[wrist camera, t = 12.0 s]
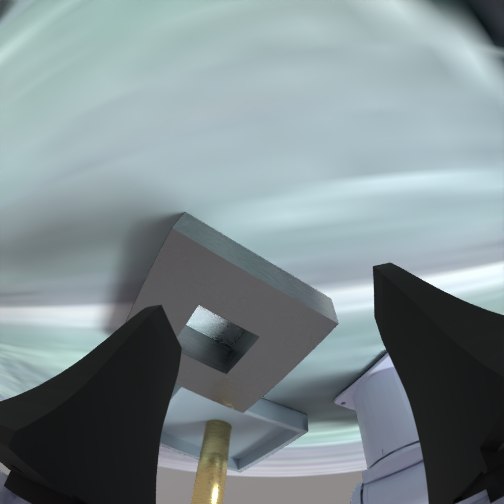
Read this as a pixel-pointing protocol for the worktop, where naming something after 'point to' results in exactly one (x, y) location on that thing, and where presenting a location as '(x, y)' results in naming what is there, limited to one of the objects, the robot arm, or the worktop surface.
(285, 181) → the worktop surface
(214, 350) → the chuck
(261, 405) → the tray
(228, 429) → the cylinder
